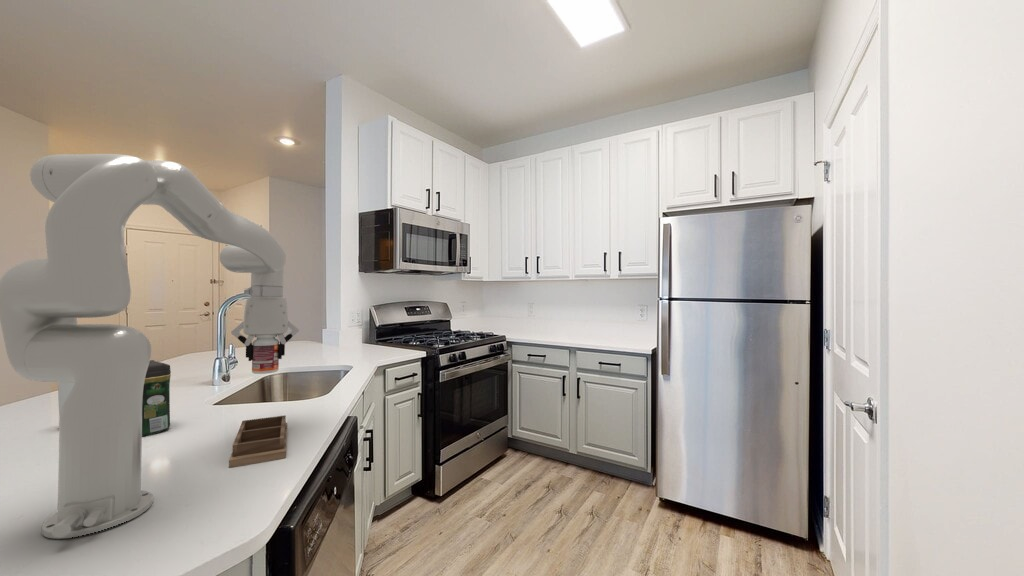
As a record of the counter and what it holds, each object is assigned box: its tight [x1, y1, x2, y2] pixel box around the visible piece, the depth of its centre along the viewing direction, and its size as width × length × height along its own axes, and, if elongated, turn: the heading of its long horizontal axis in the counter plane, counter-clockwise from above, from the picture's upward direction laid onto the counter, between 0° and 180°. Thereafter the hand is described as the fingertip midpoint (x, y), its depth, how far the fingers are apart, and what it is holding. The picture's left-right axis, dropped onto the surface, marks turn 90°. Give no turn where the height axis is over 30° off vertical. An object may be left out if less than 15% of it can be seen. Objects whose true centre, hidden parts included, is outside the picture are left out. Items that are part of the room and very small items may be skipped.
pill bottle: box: [251, 335, 280, 375], centre depth 107 cm, size 6×6×11 cm
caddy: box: [228, 415, 288, 469], centre depth 95 cm, size 22×10×4 cm, turn 29°
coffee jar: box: [142, 359, 172, 436], centre depth 104 cm, size 10×8×19 cm
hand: (265, 358), depth 107 cm, fingers closed on pill bottle, 6 cm apart
